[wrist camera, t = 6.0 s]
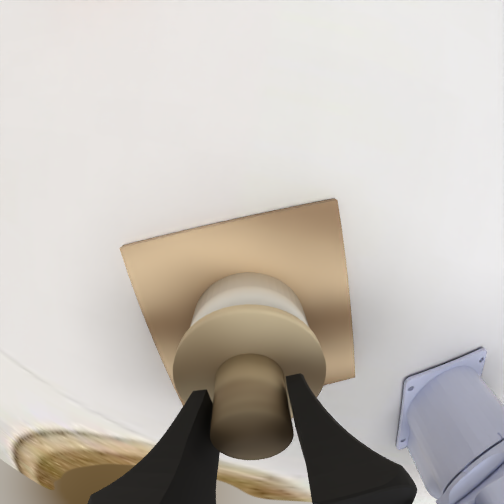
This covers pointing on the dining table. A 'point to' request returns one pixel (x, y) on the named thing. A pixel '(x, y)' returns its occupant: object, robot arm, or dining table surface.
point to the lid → (248, 375)
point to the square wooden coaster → (249, 260)
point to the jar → (248, 295)
